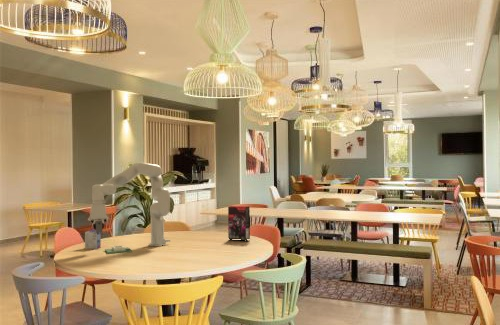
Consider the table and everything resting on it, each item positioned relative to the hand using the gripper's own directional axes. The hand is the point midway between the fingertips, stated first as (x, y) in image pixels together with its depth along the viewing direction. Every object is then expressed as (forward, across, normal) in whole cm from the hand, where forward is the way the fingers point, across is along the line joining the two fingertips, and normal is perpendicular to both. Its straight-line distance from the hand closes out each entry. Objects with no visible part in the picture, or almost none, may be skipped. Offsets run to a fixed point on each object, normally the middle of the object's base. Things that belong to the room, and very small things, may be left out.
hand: (98, 229), depth 306 cm
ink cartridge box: (+16, +2, -20) cm, 26 cm away
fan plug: (+2, 0, +2) cm, 3 cm away
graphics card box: (+18, -106, -3) cm, 108 cm away
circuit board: (+16, -12, +2) cm, 20 cm away
